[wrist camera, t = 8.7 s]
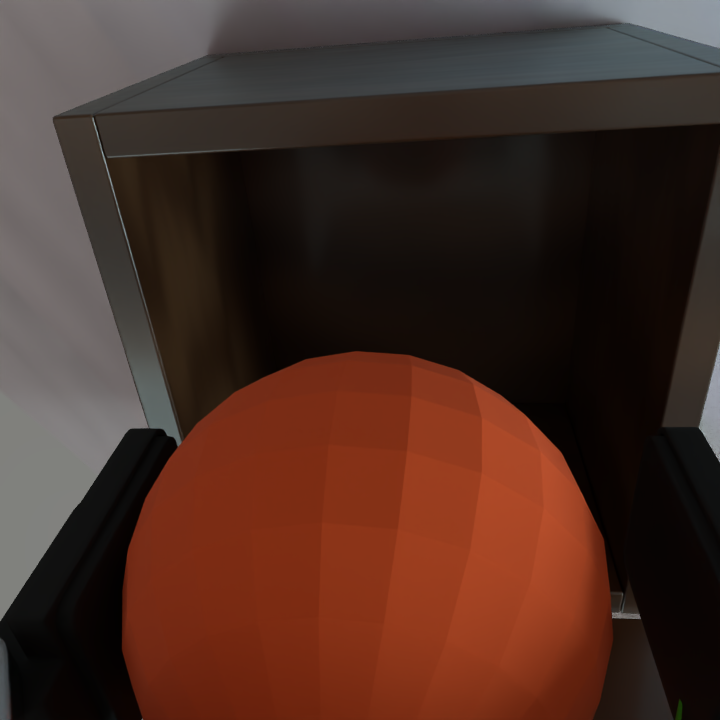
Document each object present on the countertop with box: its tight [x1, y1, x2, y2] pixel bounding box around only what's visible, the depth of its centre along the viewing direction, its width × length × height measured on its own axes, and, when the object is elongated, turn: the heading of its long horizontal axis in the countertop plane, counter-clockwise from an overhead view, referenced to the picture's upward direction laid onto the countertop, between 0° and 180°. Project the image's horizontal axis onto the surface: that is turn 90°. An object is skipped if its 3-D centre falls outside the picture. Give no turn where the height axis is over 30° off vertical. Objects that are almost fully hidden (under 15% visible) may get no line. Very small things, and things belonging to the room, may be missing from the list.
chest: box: [53, 23, 720, 614], centre depth 20 cm, size 15×14×10 cm
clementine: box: [122, 351, 682, 720], centre depth 9 cm, size 8×7×7 cm
